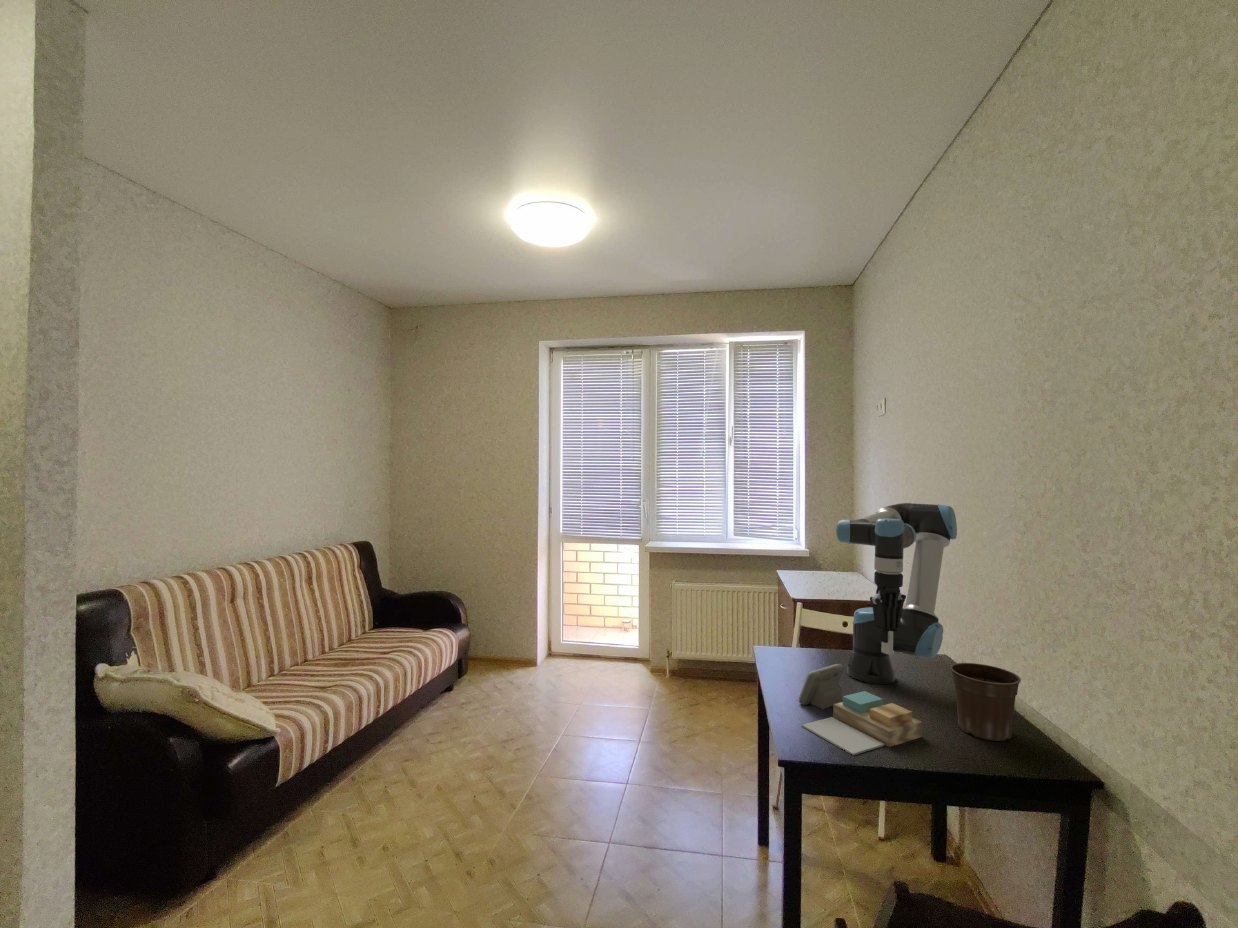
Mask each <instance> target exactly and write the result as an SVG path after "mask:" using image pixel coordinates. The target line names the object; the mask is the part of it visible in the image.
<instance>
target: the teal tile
mask: <svg viewBox="0 0 1238 928" xmlns="http://www.w3.org/2000/svg"><path fill="white" fill-rule="evenodd" d="M842 702H843V706H846V707H848V708H850V709H852V710H854V711H856V712H858V713H860V714H861V713H865V712H868V711H870V709H871V708H875V707H879V706H883V705H884V703H883V702H884V699H883V698H882V697H880V696H877V695H874V694H873V693H870V692H868V691H865V690H864V691H860V692H856V693H851V694H847V695H842Z"/></svg>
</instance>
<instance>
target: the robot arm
mask: <svg viewBox="0 0 1238 928" xmlns="http://www.w3.org/2000/svg"><path fill="white" fill-rule="evenodd" d="M957 525H958V524H957V518H956V514H955V510H954V508H953V507H952V506H949V505H944V504H940V503H939V504H928V503H911V502H903V503H896V504H892V505H887V506H883V507H881V508H879V509H877V510H876V512H875V513H872V514H869V515H866V516H863V517H860V518H858V519H849V518H848V519H840V520H838V522H837V525H836V528H835V530H836V532H835V533H836V538H837V540H838V542H841V543H844V544H848V545H849V544H854V545H862V546H863V545H864V546H873V547H874V562H873V563H874V567H873V569H874V570H875V572H874V573H873V575H874V580H873V581H874V584H875V585H876V587H877V588H876V591H875V595H874V596H869V602H870V603H871V605H872V607H868V606H867V607H862V608H861V607H860V608H858V609H856V610H855V611H854V613H853V621H852V652H851V655H850V657H849V660H848V663H847V667H846V673H847V676H849V677H850V676H851V677H850V678H852V679H854V678H855V680H856V679H858V680H857V681H859V680H860V682H862V681H865V682H864V683H866V682H867V684H872V683H875V684H874V685H890V684H893V683H894V682H895V681H896V672H895V670H894V666H893V663H892V659H891V655H894V652H897V653H901V654H905V655H909V656H913V657H916V658H924V659H933V658H935V657H936V655H938V653H939V651H940V649H941V646H942V642H943V638H944V637H943V635H944V626H943V625H942V623H940V622H939V620H940V619H939V617H938V616H937V615H936V613H935V610H936V603H937V598H938V597H937V595H938V590H939V584H940V583H939V582H940V577H941V568H942V564H943V563H942V562H943V555H944V549H945V548H947V547H948V546H949V545H950V542H951V540H956V539H957V535H958V527H957ZM914 543H915V545H914ZM912 545H914V546H915V547H914V553H913V559H912V564H911V571H910V576H909V582H908V583H909V584H908V590H907V595H906V594H903V593H901V589H900V588H901V587H903V586H904V585H903V584H904V574H903V573H902V572H904V549H906V548H909V547H911V546H912ZM905 601H906V602H905ZM904 603H905V606H904Z"/></svg>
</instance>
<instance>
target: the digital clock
mask: <svg viewBox="0 0 1238 928" xmlns="http://www.w3.org/2000/svg"><path fill="white" fill-rule="evenodd" d="M843 673H844V666H843V665H842V664H841V663H835V664H831V665H828V666H824V667H822V668H819V669H815V670H812V671H809V672H808V673H807V675H806V677H805V680H804V684H803V686H802V689H801V691H800V694H799V696H798V702H799V704H801V705H804V706H805V705H809V704H810V705H813V706H815V707H817V708H820V709H821V710H825V709H828V708H831V707H833V704H837V703H841V702H843V689H842V687H841V686H840V685H839V683H840V680H841V677H842V676H843Z"/></svg>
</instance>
